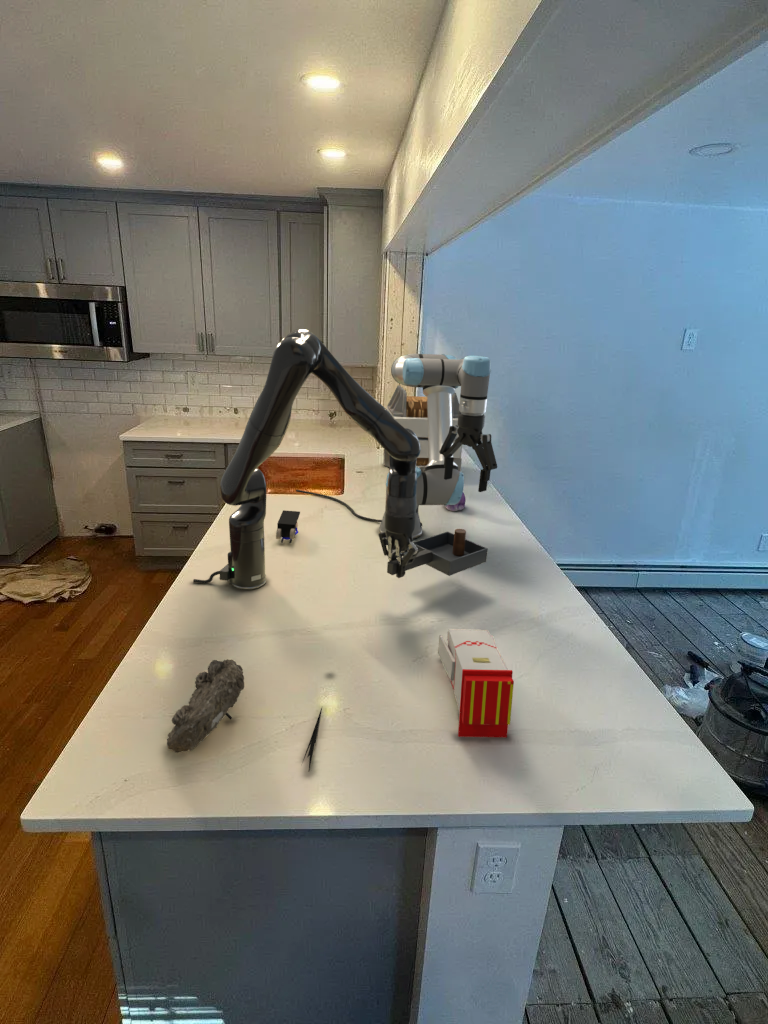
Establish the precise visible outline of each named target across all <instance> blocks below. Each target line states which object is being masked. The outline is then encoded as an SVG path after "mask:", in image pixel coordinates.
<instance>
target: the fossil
mask: <svg viewBox="0 0 768 1024" xmlns="http://www.w3.org/2000/svg"><path fill="white" fill-rule="evenodd" d="M243 670H244V669H243V667H242V665H240V664H237V662H236V661H235V660H234V659H232V658H231V659H227V658H226V659H224V660H223V661H222V660H217V659H212V660H211V661H210V663H209V665H208V666H207V671H201V672H199V673H198V674H197V675H196V676H195V680H194V684H195V685H194V687H195V689H194V690H193V693H192V694H191V697H190V698H189V700H188V704H184V705H182V706H181V707H180V709H177V710H176V711H175V713H174V715H173V716H172V718H171V723H172V724H173V727H172V730H171V731H170V732H168V734H167V738H166V741H167V742H166V745H167V749H168V750H169V751H173V752H174V753H176V754H178V753H182V752H188V751H189V752H192V751H193V750H195V748H196V747H197V746H199V744H200V743H201V742H203V741H204V740H205V739H206V738H207V737H208V736H209V735H210V734H211V733H212V732H214V730H215V729H217V727H218V726H219V724H220V722H221V721H222V720H223V719H224V718H225V716H226V717H227V719H229V720H233V717H232V715H230V714H229V710H230V709H231V708H234V706H235V704H236V703H237V702H238V699H239V697H240V695H241V693H242V691H243V690H245V689H244V688H245V675H244V671H243Z"/></svg>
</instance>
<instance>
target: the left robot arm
mask: <svg viewBox="0 0 768 1024" xmlns="http://www.w3.org/2000/svg"><path fill="white" fill-rule="evenodd" d="M311 375H313V376H315V377H317V379H318V380H320V381H321V382H322V383H323V384H324V385H325V386H326V388H328V389H329V391H330V392H331V393H332V395H333V396H334V397H335V399H336V401H337V403H338V404H339V406H340V407H341V409H342V410H343V412H344V413H345V414H346V415H347V416H348V418H349V419H351V420H352V421H353V422H354V423H355V424H356V425H357V426H358V427H359V428H361V429H362V430H363V431H364V432H365V433H367V434H368V435H369V436H371V437H372V438H373V439H374V440H375V441H376V442H377V443H378V444H379V446H381V448H383V450H384V449H385V450H386V451H387V452H388V453H389V467H388V468H389V470H388V473H389V477H388V490H387V498H386V497H385V504H386V509H384V513H385V529H386V531H385V532H382V533H380V532H378V539H379V542H380V545H381V550H382V553H383V555H384V556H385V557H387V558H388V560H389V561H392V560H395V559H397V563H398V564H397V572H396V574H395V577H396V578H398V579H401V578H403V577H405V575H406V571H407V570H406V565H407V564H411V563H412V562H413V561H414V559H415V558H416V556H417V554H418V553H419V551H420V547H419V546H417V547H416V546H415V545H414V543H413V542H414V539H413V537H412V533H413V531H414V529H415V520H416V506H417V501H416V490H417V474H416V467H417V466H416V461H417V458H418V456H419V454H420V450H421V446H420V442H419V440H418V437H417V435H416V434H415V433H414V432H413V431H412V430H410V429H408V428H404V427H403V426H402V425H400V424H399V423H398V422H397V421H396V420H395V419H394V418H393V416H392V415H391V414H390V412H389V411H388V410H387V407H385V406H383V404H381V403H380V402H379V401H378V400H377V399H375V398H374V397H373V396H372V395H371V394H370V393H368V392H367V391H366V389H364V388H363V386H361V385H360V383H358V382H357V381H356V380H355V379H354V378H353V376H351V374H350V373H349V372H348V371H347V370H346V369H345V367H344V366H343V365H342V364H341V363H340V362H339V361H338V360H337V358H336V357H335V356H334V355H333V354H332V353H331V351H330V350H329V349H328V348H327V346H326V345H325V344H324V343H323V342H322V341H321V340H320V338H319V337H318V336H317V335H316V334H314V333H313V332H312V331H310V330H308V329H304V328H297V329H294V330H292V331H290V332H289V333H288V334H287V335H286V336H284V337H283V338H282V339H281V340H280V342H279V343H278V344H277V345H276V346H275V348H274V351H273V354H272V358H271V361H270V365H269V369H268V373H267V376H266V381H265V384H264V386H263V389H262V391H261V392H260V395H259V396H258V398H257V400H256V402H255V404H254V406H253V408H252V410H251V413H250V414H249V418H248V421H247V423H246V425H245V427H244V431H243V433H242V436H241V438H240V441H239V443H238V446H237V447H236V450H235V452H234V454H233V456H232V458H231V460H230V462H228V463H229V464H228V465H227V467H226V468H225V470H224V472H223V474H222V476H221V479H220V484H219V494H220V497H221V499H222V500H223V502H224V503H225V504H227V505H228V506H232V507H233V506H234V507H235V506H236V507H237V506H239V508H237V509H236V510H235V511H234V512H233V513H232V514H231V515H230V516H229V517H228V518H229V519H228V531H229V548H230V549H229V550H230V551H229V552H228V553H227V564H226V565H224V566H223V567H222V568H221V569H220V570H217V571H214V572H212V573H211V574H210V575H209V578H208V579H205V580H204V579H196V578H193V580H192V581H193V583H197V584H204V585H205V584H209V583H210V582H212V581H213V579H214V577H215V576H219V580H220V581H225V582H226V581H227V582H228V585H230V586H232V587H234V588H235V589H238V590H245V591H246V590H247V591H249V590H256V589H259V588H261V587H263V586H265V584H266V583H267V578H266V577H267V575H266V553H265V552H266V550H265V549H266V548H265V546H266V545H265V519H266V515H267V492H268V491H267V482H266V477H265V475H264V473H263V472H262V470H261V469H259V467H260V466H261V465H262V464H263V463H264V462H266V461H267V459H268V458H270V457H271V456H272V455H273V454H274V453H275V452H276V451H277V450H278V448H279V447H280V445H281V444H282V442H283V440H284V438H285V436H286V433H287V431H288V429H289V426H290V423H291V419H292V410H293V405H294V401H295V400H296V397H297V396H298V394H299V392H300V390H301V389H302V387H303V385H304V384H305V383H306V380H307V379H308V378H309V377H310V376H311ZM402 557H403V559H402ZM389 561H388V562H389ZM405 570H406V571H405Z"/></svg>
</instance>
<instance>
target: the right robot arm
mask: <svg viewBox="0 0 768 1024" xmlns="http://www.w3.org/2000/svg"><path fill="white" fill-rule="evenodd" d="M491 365H492V361H491V358H490V357H488V356H482V355H466V356H465V357H464V358H456V357H455V356H454V355H450V354H445V353H441V354H440V353H439V354H437V353H436V354H435V353H434V354H433V353H409V354H404V355H401V356H398V357H397V358H396V359H394V361H393V362H392V363H391V367H390V373H391V377H392V379H393V381H394V382H396V383H398V385H401V386H406V387H408V388H409V387H410V388H422V395H424V397H427V408H428V445H429V463H428V464H427V465H426V466H424V471H422V469H421V467H420V466H416V474H417V490H416V501H417V506H416V520H415V529H414V531H413V533H412V537H413V540H415V539H418V538H420V537H421V536H422V535H423V527H424V526H423V523H422V522H421V518H420V515H419V507H420V506H444V507H445V506H446V505H455V504H457V503H458V502H459V501H460V499H461V496H462V493H464V486H465V475H464V473H463V472H462V471H461V472H460V471H459V472H458V466H457V465H456V464H455V463H454V458H453V454H454V453H455V452H456V451H457V450H458V449H459V447H460V446H461V445H462V446H468V447H469V448H472V450H473V451H474V452H475V454H476V456H477V459H478V461H479V464H480V466H481V467H482V469H480V472H479V482H478V489H477V491H478V492H479V493H483V492H486V491H487V490H488V489H487V488H488V482H489V481H490V479H491V473H492V470H497V468H498V463H497V460H496V455H495V451H494V448H493V443H492V434H491V433H487V434H484V433H483V429H484V427H485V423H486V415H485V413H486V412H487V404H488V395H489V387H490V376H491V373H492V370H491V367H492V366H491ZM459 387H460V394H459V411H460V413H459V414H458V426H459V427H458V426H457V425H455V426H452V403H451V396H452V395H453V394H454V393H456V389H458V388H459ZM457 433H458V435H459V437H458V438H457V439H456V440H455V442H454V443H453V441H454V439H455V437H456V435H457ZM388 477H389V472H388V473H387V475H386V480H385V481H386V482H385V487H386V488H385V499H386V498H387V490H388ZM295 492H296V493H301V494H307V495H312V496H317V497H322V498H326V499H329V500H332V501H336V502H338V503H340V504H342V505H343V506H345V507H346V508H347V509H348V510H349V511H350V512H351V513H352V514H353V515H354V516H355V517H357V518H358V519H362V520H365V521H370V522H375V523H379V527H378V533H382V532H385V531H386V529H385V512H384V513H383V515H382V519H376V518H370V517H366V516H362V515H360V514H357V513H356V512H355V510H354V509H353V508H352V506H350V505H348V504H347V503H346V502H344V501H343V500H341V499H338V498H336V497H333V496H330V495H326V494H322V493H317V492H312V491H307V490H301V489H295ZM384 505H385V507H384V508H385V509H386V503H385V504H384ZM385 509H384V510H385Z"/></svg>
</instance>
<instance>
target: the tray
mask: <svg viewBox="0 0 768 1024" xmlns="http://www.w3.org/2000/svg"><path fill="white" fill-rule="evenodd" d="M453 542H454V533H453V532H450V531H444V532H441V533H438V534H435V535H432V536H427V537H425V538H421V539H419V540H415V541H414V540H413V543H414V545H415V546H416V547H417V546H419V547H420V551H419V553H418V554H417V556H416V558H415V559H414V561H413V562H412V563H411V564H407V565H406V570H405V572H406V571H409V570H412V569H414V568H418V567H421V566H423V565H426V566H429V567H430V568H433V569H434V570H436V571H438V572H440V573H442V574H444V575H446V576H449V577H451V576H453V575H455V574H457V573H461V572H463V571H466V570H469V569H472V568H474V567H476V566H480V565H482V564H485V563H487V559H488V551H489V549H488V547H486V546H484V545H481V544H478V543H476V542H475V541H472V540H469V539H467V538H466V539H465V549H464V555H463V556H455V555H453V553H452V552H453ZM402 559H403V556H402ZM397 564H398V563H397V559H395V560H392V561H387V566H386V567H387V569H386V573H387V574H388V575H391V576H396V572H397Z"/></svg>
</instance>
